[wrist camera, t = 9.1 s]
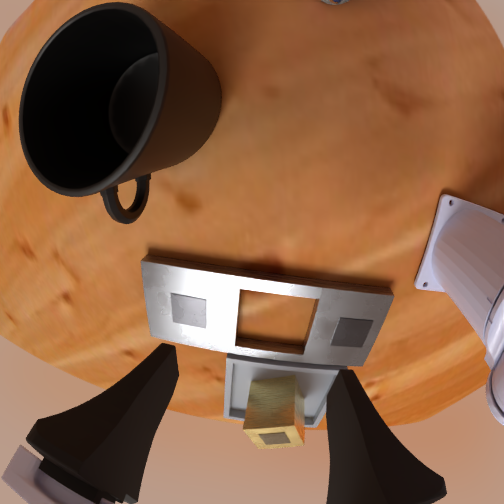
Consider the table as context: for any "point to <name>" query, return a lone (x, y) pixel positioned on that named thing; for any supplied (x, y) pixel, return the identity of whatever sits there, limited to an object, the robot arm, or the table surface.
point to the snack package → (339, 0)
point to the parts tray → (253, 368)
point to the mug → (115, 105)
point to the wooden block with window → (275, 413)
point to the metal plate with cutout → (234, 279)
